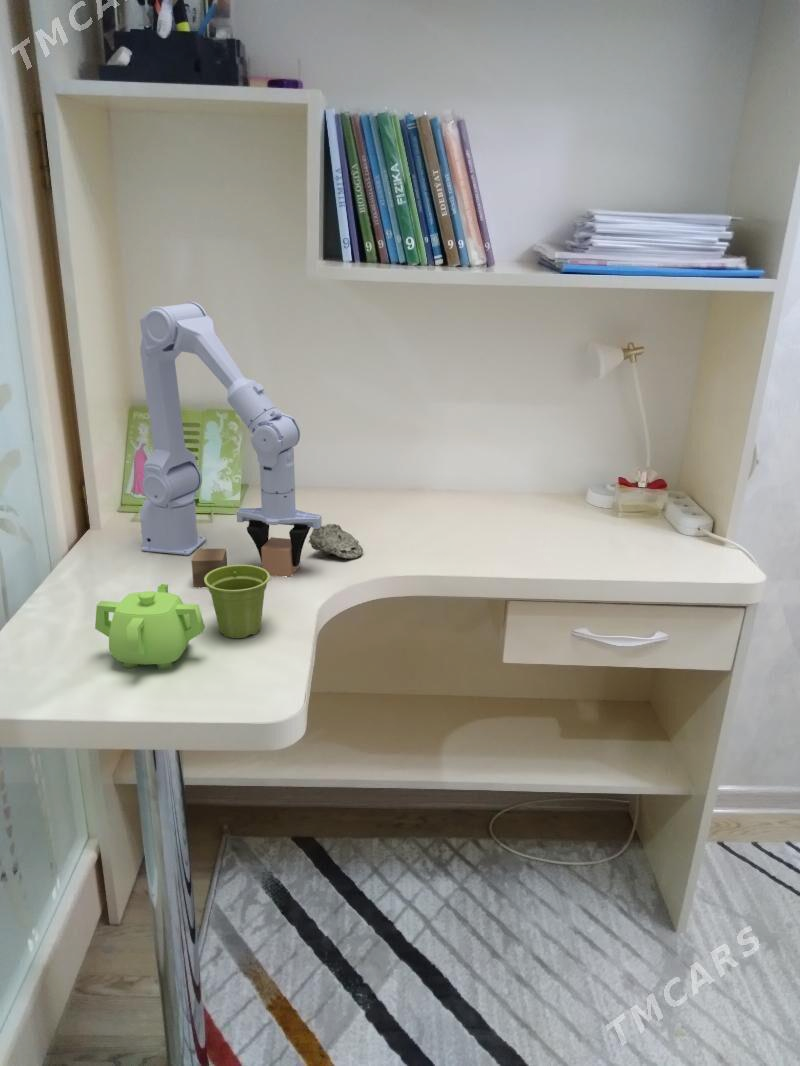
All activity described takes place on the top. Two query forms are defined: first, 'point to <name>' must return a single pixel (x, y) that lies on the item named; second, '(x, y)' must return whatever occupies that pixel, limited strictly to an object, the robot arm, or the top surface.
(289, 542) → the terracotta block
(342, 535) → the rock sample
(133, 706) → the top surface
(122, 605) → the green handled lidded container
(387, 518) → the top surface
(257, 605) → the plant pot
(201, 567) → the walnut block
